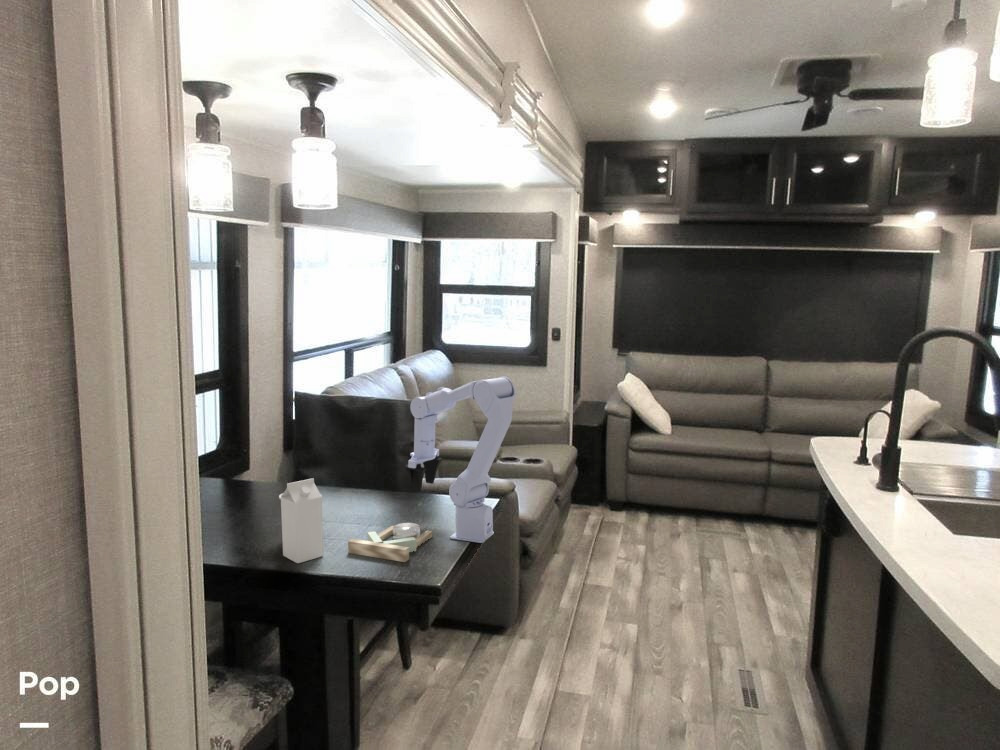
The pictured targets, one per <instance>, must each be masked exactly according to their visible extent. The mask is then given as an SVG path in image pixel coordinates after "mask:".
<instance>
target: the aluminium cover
mask: <svg viewBox="0 0 1000 750" xmlns="http://www.w3.org/2000/svg"><path fill="white" fill-rule="evenodd" d="M393 526H394V527H393V535H392V538H393V539H392V540H397V539H404V538H411V537H414V538H417V537H418V536H420V535H421V526H420V525H419V524H417V523H414V522H402V523H401V522H400V523H397V524H395V525H393Z"/></svg>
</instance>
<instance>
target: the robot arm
mask: <svg viewBox="0 0 1000 750" xmlns="http://www.w3.org/2000/svg"><path fill="white" fill-rule="evenodd" d="M516 397H517V391H516V387H515V385H514V382H513V381H512V380H511V378H509V377H507V376H499V377H496V378H495V377H494V378H489V379H480V380H475V381H470V382H468V383H465V384H463V385H462V386H459V387H456V388H455V389H451V388H449V387H445V386H440V387H438V388H437V391H434V392H432V391H430V392H429V391H428V392H427V393H425V396H416V397H414V398H413V399H412V400H411V402H410V407H409V408H410V413H411V414H412V416H413V417H414V425H413V427H414V430H413V431H414V432H413V435H414V437H413V452H410V454H409V455H410V457H411V458H410V459H409V460H408V462H407V463H408V464H406V465H405V466H404V467H405V468H404V469H405V471H406V473H407V474H408V477H409V480H410V483H411V486H412V490H413V491H415V492H421V491H422V487H423V481H424V480H425V483H426V484H431V485H432V484H434V482H435V479H436V476H437V472H438V469H439V467H440V464H442V461H443V458H442V457H439V456H440V449H439V448H436V422H437V421H438V415H439V414H440V413H443V412H445V411H449V410H452V409H454V408H455V406H456V405H457V402H460V401H464V400H467V399H469V398H471V400H475V402H476V404H477V405H478V407H479V408H480V410H481V411H482V412H481V413H483V415H484V416H485V418H487V421H486V424H485V426H484V429H483V431H482V433H481V436H480V437H479V440H478V442H477V445H476V446H475V447H476V448H474V451H473V454H472V456H471V459H470V460H469V462H468V465H467V468H466V469H464V471H462V472H461V473H460V474H459V475H458V476H457V478H456V480H455V481H454V482H453V483H451V484H450V486H449V488H448V490H449V491H448V492H449V493H448V495H449V498H450V500H451V502H452V503H453V505H454V506H455V532H454V533H453V534H451V535H450V536H449V539H452V540H457V541H464V542H472V543H478V544H483V543H485V542H486V541H487V540H488V539H489V538H491V536H493V535H494V534H495V532H494V527H493V526H494V519H493V518H494V513H493V507H492V506H491V505H487V504H485V498H486V497H487V496H488V495H489V491H490V483H491V477H490V475H489V471H490V469H491V468H492V465H493V463H494V460H495V458H496V456H497V454H498V453H499V450H500V447H501V445H502V443H503V441H504V439H505V436H506V434H507V432H508V430H509V428H510V426H511V423H512V420H513V410H514V409H513V408H514V407H513V406H514V400H515V399H516ZM421 464H423V467H422V466H421ZM424 477H425V479H424Z"/></svg>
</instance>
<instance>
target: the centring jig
mask: <svg viewBox="0 0 1000 750" xmlns="http://www.w3.org/2000/svg"><path fill="white" fill-rule="evenodd" d="M394 526H395V525H391V526H388V527H387V528H386V529H384V530H382V531H380V532H379V533H377V532H376V531H368V532H366V533H367V534H366V535H367V540H363V539H358V538H357V539H356V538H351V539H349V540H348V541H347V547H348V548H347V551H348V553H349V554H352V555H359V556H365V557H370V558H377V559H383V560H389V561H396V562H401V563H402V562H403V563H406V562H408V561H409V560H410V553H413V551H414V552H417V549H418V548H419V547H420V546H422V545H423V544H424V543H426V542H427V541H428V539H429V540H430V539H431V538H433V530H426V531H424V532H422V533H420V536H418V537H417V538H414V537H411V538H404V539H397V540H394V539H391V540H387V539H388V538H389V537H391V536H393V527H394ZM425 541H426V542H425ZM422 543H423V544H422ZM421 544H422V545H421ZM418 546H419V547H418Z"/></svg>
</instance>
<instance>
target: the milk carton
mask: <svg viewBox="0 0 1000 750" xmlns="http://www.w3.org/2000/svg"><path fill="white" fill-rule="evenodd" d="M282 494H283V495H282V496H281V500H280V510H281V511H280V512H281V513H280V514H281V532H282V533H281V534H282V538H281V539H282V556H283V557H285V558H287V559H289V560H290V561H293V562H294V563H295V564H301V563H304V562H307V561H311V560H313V559H317V558H321V557H324V534H323V533H324V532H323V531H324V528H323V503H322V502H323V501H322V500H323V498H322V497H321V495H322V494H321V492H320V491H319V489H318V487H317V486H316V484H315V479H314V477H313V478H308V479H304V480H303V479H302V480H299V481H293V482H289V483H288V482H287V483H286V489H285V490H284V492H283V493H282ZM320 494H321V495H320Z"/></svg>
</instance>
